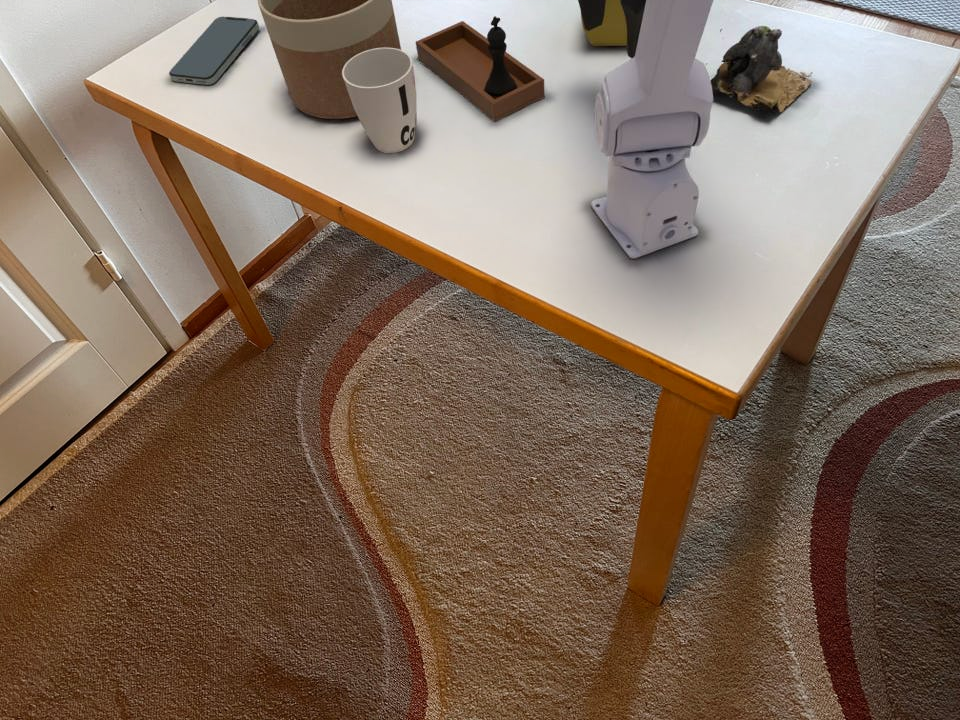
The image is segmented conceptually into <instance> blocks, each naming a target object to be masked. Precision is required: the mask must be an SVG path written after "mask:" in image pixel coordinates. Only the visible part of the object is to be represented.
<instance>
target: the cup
mask: <svg viewBox="0 0 960 720" xmlns="http://www.w3.org/2000/svg"><path fill="white" fill-rule="evenodd" d="M413 65H414V64H413V59H412V57H411V55H410V54H409V53H407V52H406V51H404V50H402V49H401V50H400V49H396V48H375V49H370V50H367V51H364V52H362V53H359V54H357V55H356V56H354V57H352V58H351V59H350V60H349V61H348V62H347V63H346V64H345V65H344V67H343V70H342V75H343V79H344V81H345V84H346V87H347V90H348V93H349V96H350V99H351V101H352V104H353V107H354V109H355V112H356V114H357V116H356V117H357V118H358V120H359V122H360V124H361V126H362V128H363V130H364V133H365V134H366V135H367V137H368V138H369V140H370V141H371V143H372V144H373V145H374V147H375V148H376V149H377V150H378V151H379V152H382V153H386V154H395V153H400V152H403V151H405V150H406V149H408V148H410V146H412V145H413V143H414V141H415V135H416V129H417V122H418V118H417V117H418V115H417V114H418V113H417V106H418V105H417V104H418V103H417V88H416V81H415V72H414V66H413Z"/></svg>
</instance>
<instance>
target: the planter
mask: <svg viewBox="0 0 960 720" xmlns="http://www.w3.org/2000/svg"><path fill="white" fill-rule="evenodd" d="M257 4H258V8H259V10H260V13H261V16H262V19H263V22H264V26H265V28H266V30H267V31H266V32H267V34H268V37H269V39H270V42H271V45H272V49H273V50H274V54H275V57H276V59H277V64H278V65H279V69H280V71H281V74H282V77H283V80H284V83H285V85H286V88H287V91H288V94H289V97H290V100H291V102H292V103H293V104H294V106H295V107H296V108H297V109H298V110H300V111H301V112H302V113H304V114H306V115H308V116H312V117H314V118H315V117H316V118H319V119H320V118H321V119H327V120H328V119H330V120H340V119H349V118H354V117H355V118H356V117H358V116H357V114H356V112H355V109H354V107H353V104H352V101H351V99H350V96H349V93H348V90H347V87H346V84H345V81H344V79H343V75H342V70H343V67H344V65H345V64H346V63H347V62H348V61H349V60H350V59H351V58H352V57H354V56H356V55H357V54H359V53H362V52H364V51H367V50H370V49H375V48H396V49H400V50H402V46H401V42H400V35H399V32H398V31H399V30H398V26H397V21H396V16H395V11H394V5H393V1H392V0H257Z"/></svg>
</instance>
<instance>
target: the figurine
mask: <svg viewBox="0 0 960 720" xmlns="http://www.w3.org/2000/svg"><path fill="white" fill-rule="evenodd" d="M747 30H748V31H747V32H745V33H744V35H743V36H741V38H740V39H739V41H738V42H736V43H735V44H733V45H732V46H731V47H730V48H728V49H727V51H726V52H725V53H724V55H723V56H722V60H721V62H722V63H721V64H720V65H719V67H718V68H717V69H716V74H715V75H714V74H712V77H711V78H710V81H711V86H712V90H715V91H717V92H716V95H715V98H717V97H718V96H717V94H719V92H721V93H725V94H726V95H728V96H729V97H730V98H733V97H734V93H736V94H737V95H736V98H737V99H736V100H737V101H738V102H740V103H741V104H742V105H744V106H746V107H750V108H752V110H756V111H761V110H764V111H766V110H770V109H772V110H773V111H774V112H775V114H777V113H778V112H780V113H783V111H784V109H785V108H786V107H788V106H790V104H792V103H793V102H794V101H795V100H796V98H798V97H799V95H801V94H802V93H803V92H805V91H806V90H807V89H808V88H809V87H812V83H813V80H812V79H808V78H810V77H812V75H813V73H814V72H813V71H810V73H808V74H807V73H806V72H804V71H800V72H797V71H795V70H793V69H791V67H789V68H786V66H784V65H783V58H782V54H781V52H780V51H779V40H780V38H781V36H782V34H783V31H782V30H781V29H780V28H776V29H771V28H770V26H769V27H768V26H767V25H766V26H765V25H757V26H756V27H752V28H751V29H749V28H747ZM722 31H723V28H721V29H720V30H719V33H722ZM723 39H725V38H724V37H723ZM708 63H709V62H708ZM708 63H705V66H707V65H708ZM762 119H765V116H763V117H762Z"/></svg>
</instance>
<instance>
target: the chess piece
mask: <svg viewBox="0 0 960 720" xmlns="http://www.w3.org/2000/svg"><path fill="white" fill-rule="evenodd" d="M500 22H501V18H500V17H497V16H495V15H494V16H493V18H492V20H491V21H490V26H492V27H490V29H489V30H488V32H487V34H486V38H487V40H488V41H489V45H488V50H489V52H490V54H491V55H492V58H493V68H492V71H491V73H490V76H489V78H488V80H487V82H486V85H485V88H484V91H485V92H486V93H487V94H488V95H490V96H491V97H492V98H494V99H497V98H499V97H501V96H503V95H505V94H507V93H509V92H511V91H513V90H515V89H517V88H518V87H517V84H516V83H515V81H514V79H513V78H512V77H511V75H510V73H509V72H508V70H507V68H506V67H505V64H504V54H505V52H507V47H508V45H507V43H506V42H505V41H506V38H507V34H506V32H505V30H504V29H503V28H502V27H501V26H498V24H499V23H500Z"/></svg>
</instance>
